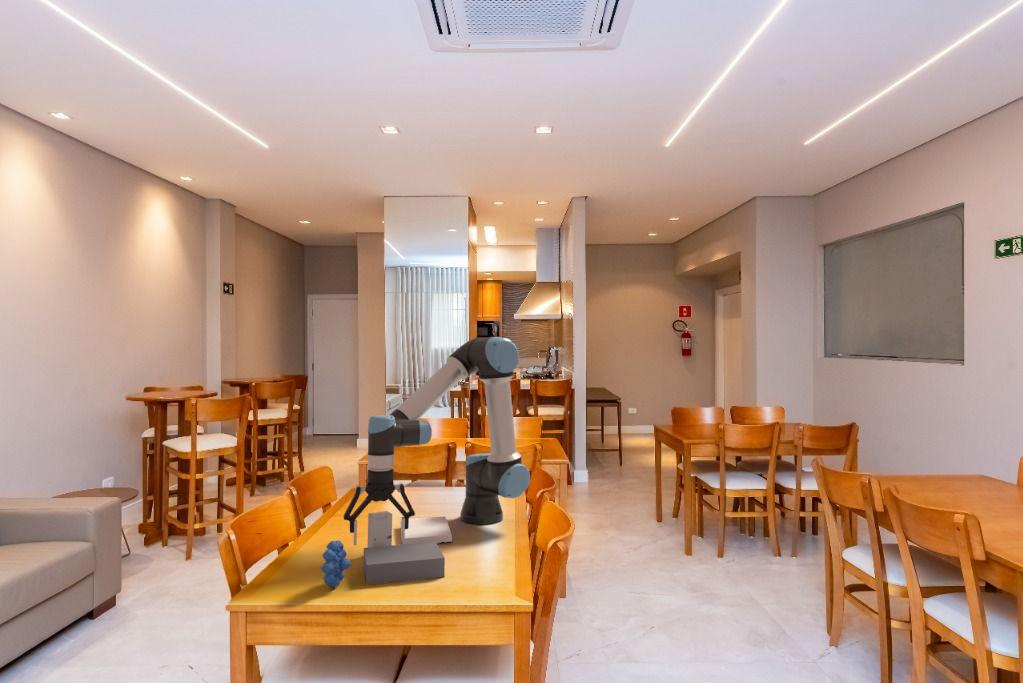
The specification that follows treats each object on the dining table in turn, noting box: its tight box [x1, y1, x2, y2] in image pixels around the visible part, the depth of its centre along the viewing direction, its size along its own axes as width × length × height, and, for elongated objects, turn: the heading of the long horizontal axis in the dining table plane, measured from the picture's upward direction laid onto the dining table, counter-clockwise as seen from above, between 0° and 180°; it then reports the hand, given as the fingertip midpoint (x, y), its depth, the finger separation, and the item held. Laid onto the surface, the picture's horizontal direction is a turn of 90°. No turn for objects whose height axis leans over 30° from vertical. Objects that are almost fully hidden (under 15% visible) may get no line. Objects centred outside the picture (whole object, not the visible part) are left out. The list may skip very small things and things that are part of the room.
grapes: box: [320, 539, 352, 589], centre depth 151 cm, size 12×7×12 cm, turn 174°
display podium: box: [363, 542, 446, 585], centre depth 163 cm, size 20×14×5 cm
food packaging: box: [401, 516, 453, 545], centre depth 196 cm, size 15×3×20 cm
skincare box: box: [367, 510, 393, 548], centre depth 176 cm, size 6×4×12 cm
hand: (379, 542), depth 176 cm, fingers open, 13 cm apart
